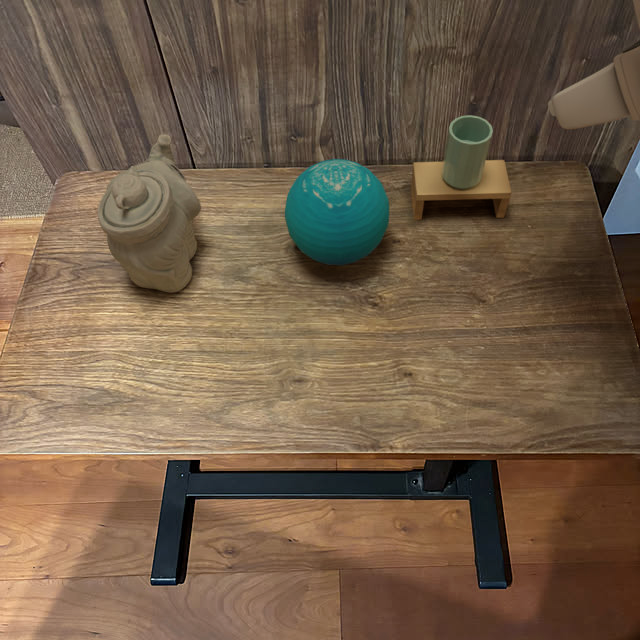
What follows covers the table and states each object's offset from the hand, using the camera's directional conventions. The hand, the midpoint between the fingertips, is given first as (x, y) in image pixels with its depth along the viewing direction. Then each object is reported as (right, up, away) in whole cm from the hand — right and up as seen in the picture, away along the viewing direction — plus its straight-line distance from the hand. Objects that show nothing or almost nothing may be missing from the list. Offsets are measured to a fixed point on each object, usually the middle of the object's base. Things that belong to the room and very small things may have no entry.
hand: (581, 91), depth 72 cm
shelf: (-9, -8, +27) cm, 30 cm away
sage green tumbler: (-9, -5, +23) cm, 25 cm away
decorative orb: (-28, -15, +23) cm, 39 cm away
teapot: (-54, -16, +24) cm, 61 cm away
